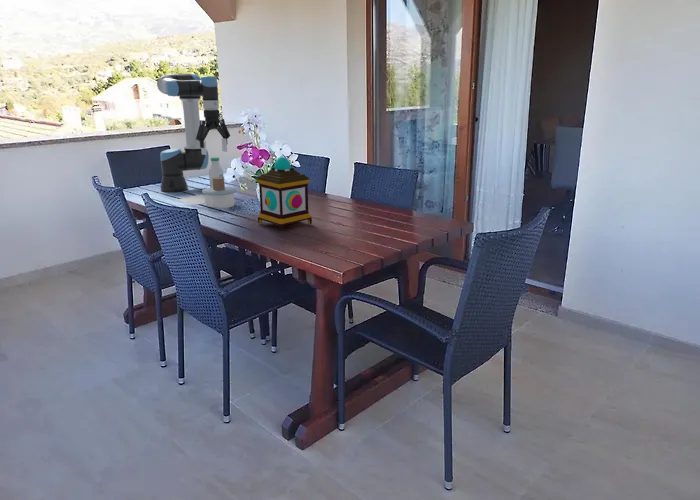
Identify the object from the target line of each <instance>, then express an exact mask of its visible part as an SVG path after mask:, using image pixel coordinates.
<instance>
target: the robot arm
mask: <svg viewBox="0 0 700 500" xmlns="http://www.w3.org/2000/svg"><path fill="white" fill-rule="evenodd" d="M156 86H157V89H158V90H159V92H160V93H162V94H164V95H167V96H169V97H178V98H179V100H180V101H181V102H182V109H183V119H184V130H185V132H184V133H185V141H186V142H185V143H186V144H185V146H184V147H183V148H184V150H182V149H181V148H170V149H166V150H162V151H161V152H160V153H159V154H160V159H159V160H160V166H161V173H162V174H161V176H162V178H161V181H160V182H161V183H160V191H162V192H165V193H166V192H169V193H172V192H173V193H174V192H181V191H182V192H183V191H186V190H188V189H189V187H188V183H187V181H186V179H185V176H184V172H186V171H200V170H201V171H202V170H205V169H207V168H208V166H209V159H210V157H209V151H208V150H207V142H206V138H207V136H208V134H209V132H210V131H211V130H215V129H216V130H217V132H218V133H219V135H220V136H221V137H222V138H221V147H222V148H221V149H222V150H221V151H222V152H225V153H227V152H228V139H229V138H230V137H231V134H230V132H229V129H228V127H227V125H226V122H225V119H224V118H220V117H221V116H220V114H221V113H220V110H219V109H220V102H219V89H218V88H219V87H218V86H219V85H218V79H217V76H215V75H214V76H213V75H210V76H209V75H201V76H199V74H197V73H167V74H164V75H161V76H159V77H158V79H157V82H156ZM201 97H202V106H203V107H202V108H203V109H204V110H203V117H204V119H203V120H202V119H200V107H199V102H200V101H201Z"/></svg>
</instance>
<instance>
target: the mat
mask: <svg viewBox="0 0 700 500" xmlns="http://www.w3.org/2000/svg"><path fill="white" fill-rule="evenodd" d="M173 201H174V202H178V203H184V204H188V205H189V204H190V205H195V206H197V205H202V204H206V202H205V194H196V195H191V196H186V197H184V198H179V199H174V200H173Z"/></svg>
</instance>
